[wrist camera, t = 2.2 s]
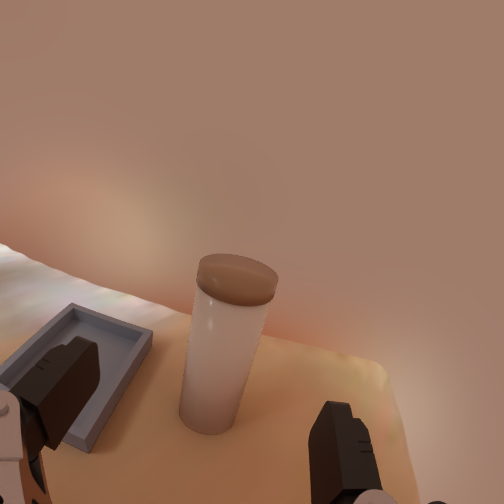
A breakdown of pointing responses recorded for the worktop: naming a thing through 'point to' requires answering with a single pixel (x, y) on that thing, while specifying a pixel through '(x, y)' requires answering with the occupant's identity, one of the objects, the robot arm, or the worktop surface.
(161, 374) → the worktop surface
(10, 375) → the dish
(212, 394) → the canister
